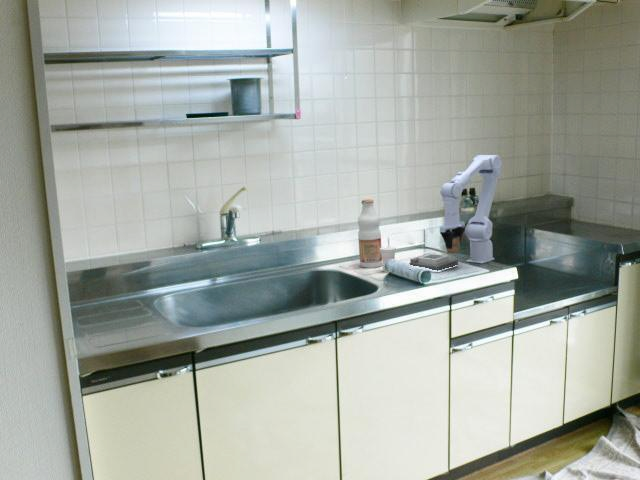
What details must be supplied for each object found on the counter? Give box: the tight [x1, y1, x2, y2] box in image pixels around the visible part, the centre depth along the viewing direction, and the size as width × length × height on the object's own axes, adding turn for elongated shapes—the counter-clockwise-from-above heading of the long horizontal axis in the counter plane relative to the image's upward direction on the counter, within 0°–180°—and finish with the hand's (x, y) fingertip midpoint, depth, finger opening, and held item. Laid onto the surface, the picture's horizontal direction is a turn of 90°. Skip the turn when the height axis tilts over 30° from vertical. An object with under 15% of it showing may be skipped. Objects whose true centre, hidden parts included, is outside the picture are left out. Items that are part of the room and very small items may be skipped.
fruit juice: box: [357, 198, 383, 269], centre depth 287 cm, size 9×9×28 cm
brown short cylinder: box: [446, 236, 461, 255], centre depth 272 cm, size 5×5×6 cm
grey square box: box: [408, 252, 459, 271], centre depth 278 cm, size 14×14×4 cm
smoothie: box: [380, 236, 397, 273], centre depth 276 cm, size 6×6×14 cm
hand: (453, 247), depth 272 cm, fingers closed on brown short cylinder, 5 cm apart
